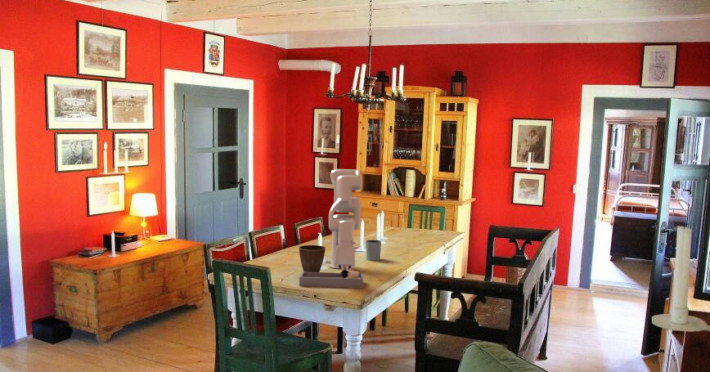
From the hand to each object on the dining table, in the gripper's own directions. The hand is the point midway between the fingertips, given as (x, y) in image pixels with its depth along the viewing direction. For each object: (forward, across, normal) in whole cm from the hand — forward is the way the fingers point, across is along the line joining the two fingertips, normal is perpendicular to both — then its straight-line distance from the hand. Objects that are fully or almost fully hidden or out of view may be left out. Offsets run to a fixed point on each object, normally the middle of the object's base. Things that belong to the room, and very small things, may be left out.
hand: (344, 277), depth 299 cm
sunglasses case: (+4, -2, -18) cm, 19 cm away
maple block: (+1, -5, 0) cm, 5 cm away
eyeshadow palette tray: (+4, +7, 0) cm, 8 cm away
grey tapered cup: (+4, -14, -62) cm, 64 cm away
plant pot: (+4, +20, -16) cm, 26 cm away
